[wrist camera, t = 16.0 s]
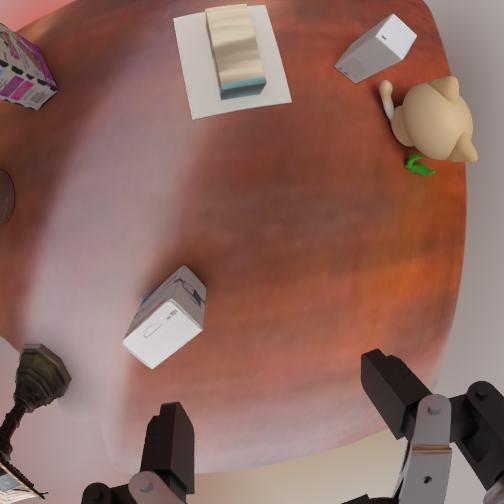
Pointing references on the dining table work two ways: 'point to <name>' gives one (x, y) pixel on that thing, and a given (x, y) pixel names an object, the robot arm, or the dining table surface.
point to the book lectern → (29, 411)
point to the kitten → (432, 122)
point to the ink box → (167, 318)
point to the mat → (203, 72)
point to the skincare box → (376, 49)
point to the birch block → (234, 51)
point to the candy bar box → (23, 72)
